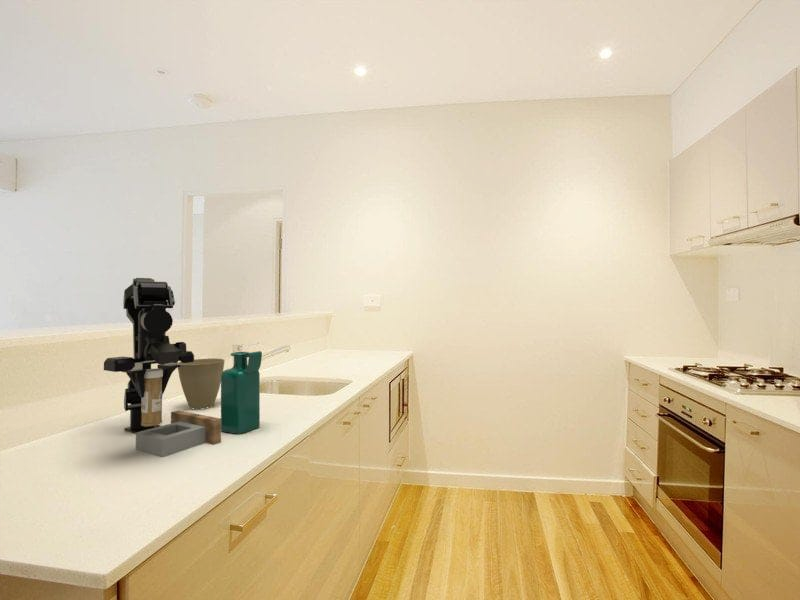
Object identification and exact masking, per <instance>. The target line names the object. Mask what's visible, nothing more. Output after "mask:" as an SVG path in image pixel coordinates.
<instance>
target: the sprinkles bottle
mask: <svg viewBox="0 0 800 600" xmlns="http://www.w3.org/2000/svg"><path fill="white" fill-rule="evenodd" d="M162 377H163V369H158V368H151V369H146V372H145V375H144V390H145V392H144V397H143V398H142V397H141V412H142V422H141V425H142V426H155V425H161V424H162V423H163V419H162V417H163V416H162V415H163V395H162Z"/></svg>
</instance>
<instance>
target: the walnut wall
mask: <svg viewBox="0 0 800 600" xmlns="http://www.w3.org/2000/svg"><path fill="white" fill-rule="evenodd" d="M178 421H180V422H185V423H190V424H194V425H199V426H204V427H206V443H207V444H211V445H217V444H220V443H221V442H222V431H221V417H220V418H219V417H214V416H210V415H204V414H198V413H193V412H188V411H184V410H173V411H171V412H170V424H171V423H175V422H178Z"/></svg>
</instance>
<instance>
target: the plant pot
mask: <svg viewBox="0 0 800 600" xmlns="http://www.w3.org/2000/svg"><path fill="white" fill-rule="evenodd" d="M178 365H181V366H180V367H177V371H178V378H179V381H180V385H181V388H182V392H183V395H184V397H185V400H186V402H187V404H188V406H189V408H190V409H191V408H194V409H193V410H202V409H201V408H205V409H208V408H207V407H209V408H211V406H212V407H213V406H214V405H215V402H216V400H217V397H218V394H219V392H220V391H219V390H220V388H221V374H222V372H223V371H224V367H225V359H224V358H217V357H216V358H215V357H214V358H212V357H209V358H198V359H195V358H194V362H189V363H182V362H181V361H178Z"/></svg>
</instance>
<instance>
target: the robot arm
mask: <svg viewBox="0 0 800 600" xmlns="http://www.w3.org/2000/svg"><path fill="white" fill-rule="evenodd" d="M175 303H176V301H175V296H174V292H173V290H172V287H171V286H169V285H168V282H167V281H155V279H154V278H151V277H136V278H132V283H131V284H130V285H129V286H128V287H127V288H125V289H124V291H123V305H122V306H123V310H126V313H125V314H126V318H127V319H128V320H129V321H130V323H131V324H132V342H133V343H132V344H133V346H132V347H133V349H132V350H133V351H132V352H133V356H132V357H131V356H116V357H113V356H112V357H108V358H106V359H105V360H104V363H103V371H107V372H113V373H117V372H122V373H126V375H127V377H128V378H129V380H128V382H127V388H125V389H124V396H123V408H124V411H125V412H127V411H129V413H130V414H129V419H130V420H129V421H130V422H129V426H127V427H124V429H125V430H124V429H123V430H124V431H127V432H130V431H131V432H130V433H135V434H136V433H137V432H141V431H144V430H148V429H152V428H156V427H159V426H161V424H158V425H155V426H142V425H141V422H142V412H141V397H142V398H143V397H144V392H145V390H144V375H145V372H146V369H152V365H154V364H157V365H156V366H157V369H163V377H162V396H163V394H164V393H165V391H166V388H167V386H168V383H169V380H170V378H171V376H172V374H173V373H174V372H175V371H176V369H178V367H180V366H181V365H178V362H182V363H189V362H194V359H195V354H194V353H193V351H191V350H187V343H186V342H184V341H177V342H175V343H171V342H170V337H169V335H166V334H167V332H168V331H169V330H170V329H171V328H172V326H173V323H174V321H173V317H172V314H171V313H170V312H169V311H167V309H174V306H175Z"/></svg>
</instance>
